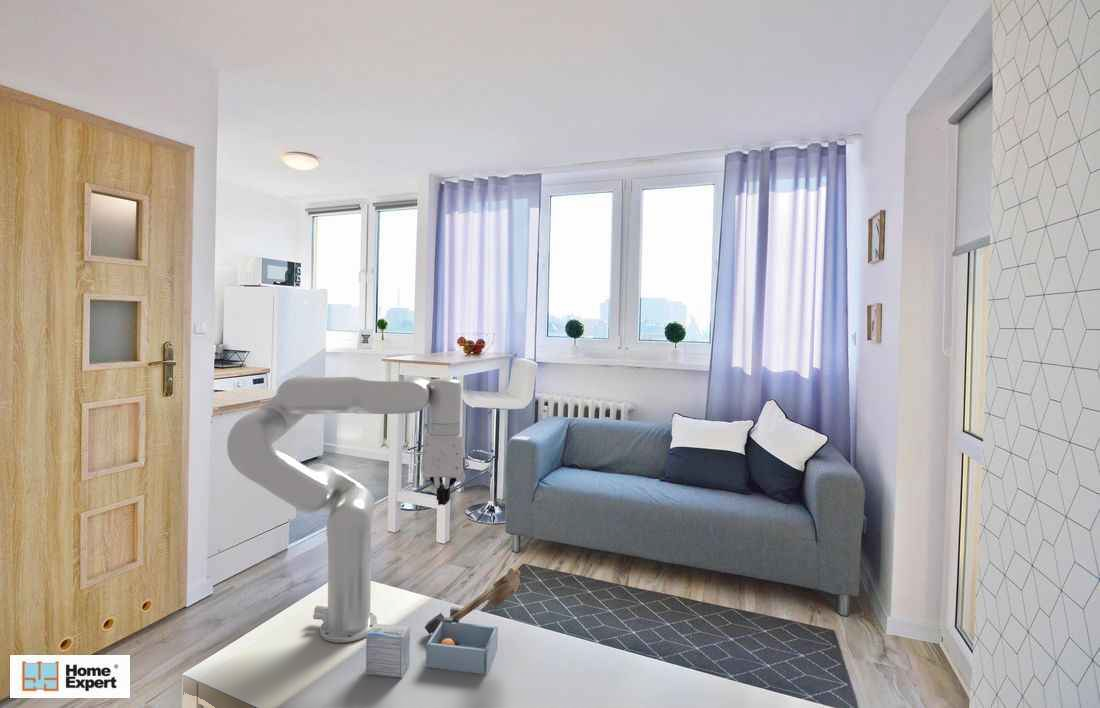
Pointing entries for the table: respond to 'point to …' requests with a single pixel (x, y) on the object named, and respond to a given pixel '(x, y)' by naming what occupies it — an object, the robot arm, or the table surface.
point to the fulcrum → (450, 620)
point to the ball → (448, 641)
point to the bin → (462, 647)
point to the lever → (483, 598)
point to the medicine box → (388, 650)
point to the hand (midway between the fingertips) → (443, 503)
